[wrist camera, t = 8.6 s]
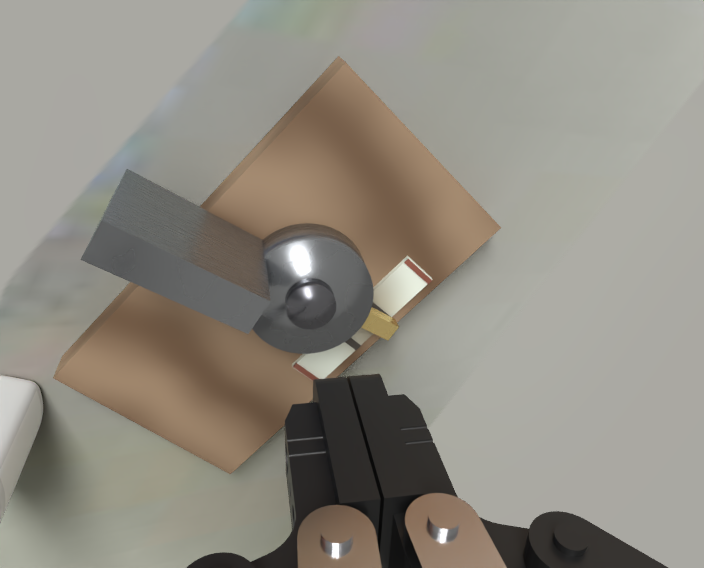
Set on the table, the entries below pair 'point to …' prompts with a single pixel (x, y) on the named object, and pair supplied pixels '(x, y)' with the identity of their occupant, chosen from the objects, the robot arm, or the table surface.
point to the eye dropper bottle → (16, 430)
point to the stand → (261, 220)
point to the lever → (239, 269)
